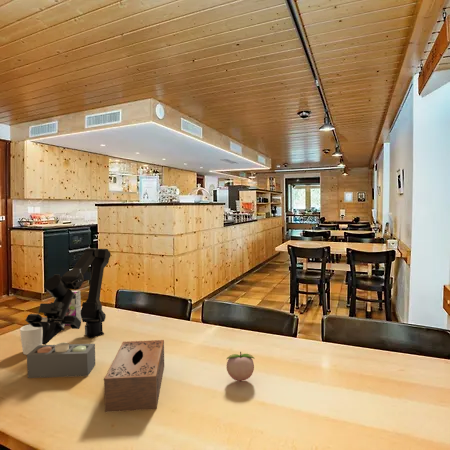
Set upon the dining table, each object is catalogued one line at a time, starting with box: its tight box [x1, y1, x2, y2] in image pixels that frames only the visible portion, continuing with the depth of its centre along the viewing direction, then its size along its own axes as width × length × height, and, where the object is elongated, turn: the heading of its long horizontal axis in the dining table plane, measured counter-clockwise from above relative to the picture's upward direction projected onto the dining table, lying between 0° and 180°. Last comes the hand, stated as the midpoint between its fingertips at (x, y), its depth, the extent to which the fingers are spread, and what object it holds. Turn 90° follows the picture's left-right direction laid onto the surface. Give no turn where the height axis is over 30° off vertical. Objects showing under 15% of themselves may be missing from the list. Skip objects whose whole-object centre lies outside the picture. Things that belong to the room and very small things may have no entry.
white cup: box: [19, 323, 43, 356], centre depth 135 cm, size 8×8×10 cm
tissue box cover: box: [103, 339, 165, 413], centre depth 109 cm, size 26×14×10 cm, turn 5°
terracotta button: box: [37, 347, 52, 353], centre depth 118 cm, size 4×4×4 cm
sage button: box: [73, 346, 86, 352], centre depth 119 cm, size 4×4×4 cm
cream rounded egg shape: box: [54, 341, 70, 352], centre depth 119 cm, size 4×4×4 cm
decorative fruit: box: [226, 351, 255, 382], centre depth 111 cm, size 9×8×10 cm
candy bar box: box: [53, 290, 82, 327], centre depth 165 cm, size 11×5×16 cm, turn 84°
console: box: [26, 343, 96, 379], centre depth 119 cm, size 8×20×8 cm, turn 93°
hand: (43, 344), depth 118 cm, fingers closed
